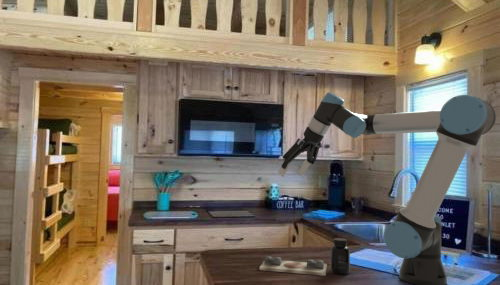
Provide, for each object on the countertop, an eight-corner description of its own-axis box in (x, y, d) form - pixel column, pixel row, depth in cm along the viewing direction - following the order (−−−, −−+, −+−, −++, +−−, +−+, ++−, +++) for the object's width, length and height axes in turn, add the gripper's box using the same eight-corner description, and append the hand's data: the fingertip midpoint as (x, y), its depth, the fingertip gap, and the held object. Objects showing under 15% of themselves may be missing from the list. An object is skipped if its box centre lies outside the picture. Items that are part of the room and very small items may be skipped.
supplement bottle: (352, 271, 145) (352, 238, 146) (346, 276, 140) (346, 242, 140) (334, 268, 149) (334, 236, 149) (327, 272, 143) (328, 239, 144)
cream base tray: (326, 266, 151) (326, 257, 151) (325, 275, 140) (325, 266, 140) (265, 261, 157) (265, 253, 157) (259, 269, 145) (259, 260, 145)
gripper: (326, 127, 164) (302, 169, 172) (290, 122, 146) (265, 169, 153) (339, 137, 160) (314, 179, 167) (304, 133, 142) (277, 180, 149)
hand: (290, 174), depth 160 cm, fingers open, 13 cm apart
